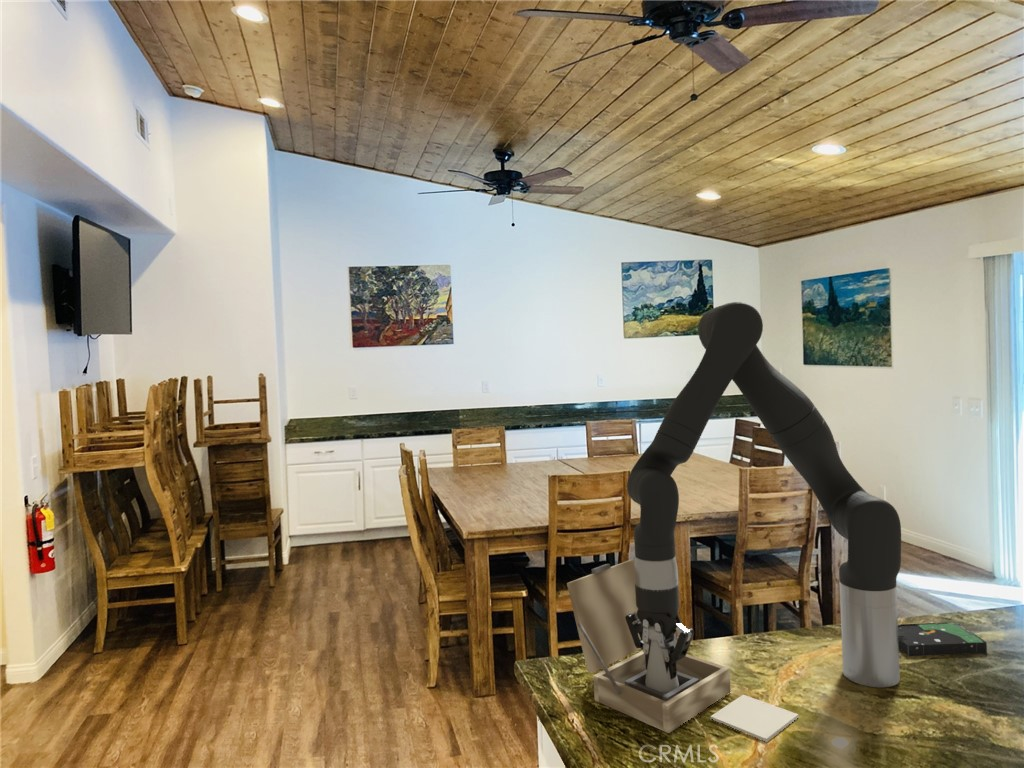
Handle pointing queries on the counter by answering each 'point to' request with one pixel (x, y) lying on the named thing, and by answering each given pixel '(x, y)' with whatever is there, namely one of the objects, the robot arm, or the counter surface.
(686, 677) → the case
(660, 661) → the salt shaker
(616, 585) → the lid
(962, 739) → the counter surface
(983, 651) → the disk drive
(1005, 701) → the counter surface
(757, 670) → the counter surface
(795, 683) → the counter surface
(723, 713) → the tile
